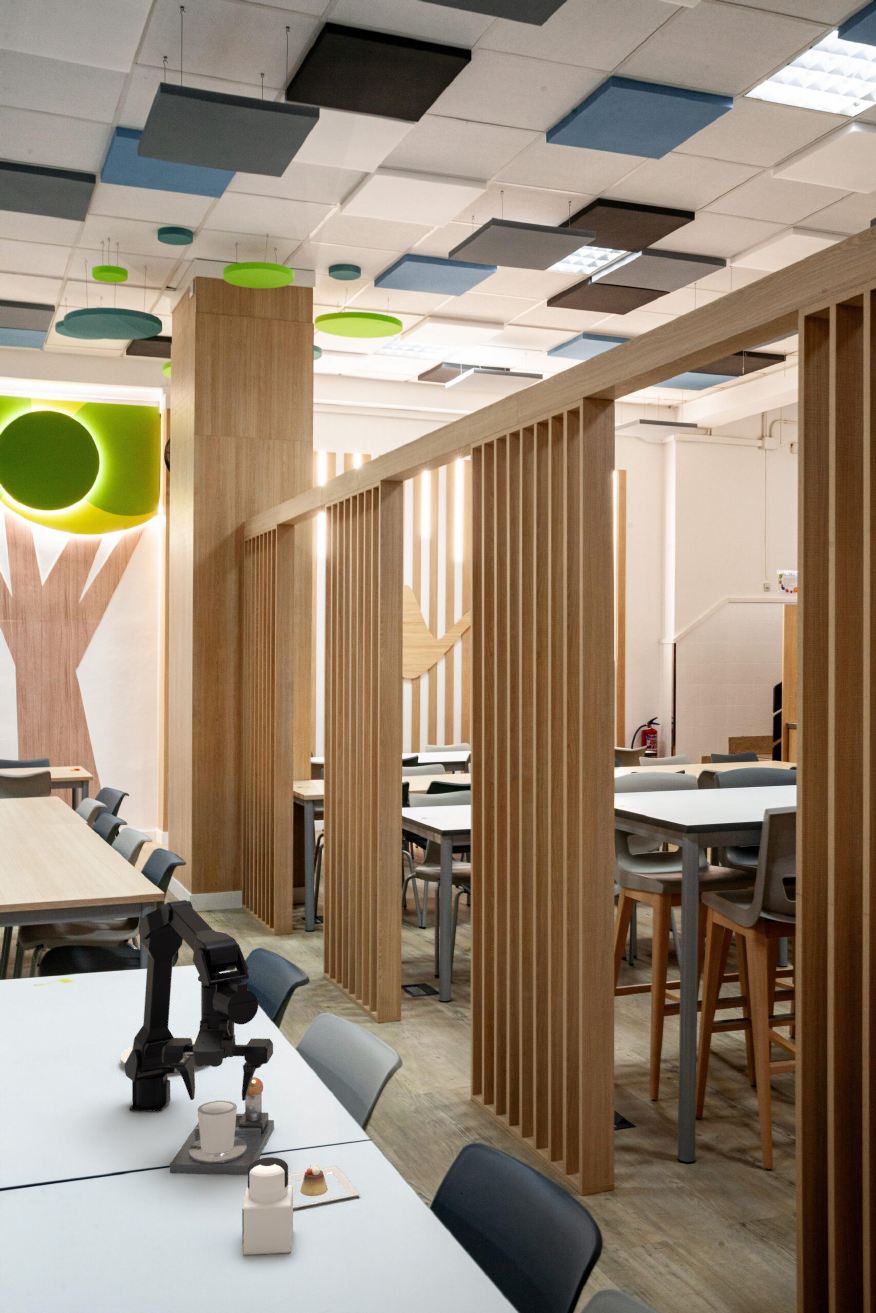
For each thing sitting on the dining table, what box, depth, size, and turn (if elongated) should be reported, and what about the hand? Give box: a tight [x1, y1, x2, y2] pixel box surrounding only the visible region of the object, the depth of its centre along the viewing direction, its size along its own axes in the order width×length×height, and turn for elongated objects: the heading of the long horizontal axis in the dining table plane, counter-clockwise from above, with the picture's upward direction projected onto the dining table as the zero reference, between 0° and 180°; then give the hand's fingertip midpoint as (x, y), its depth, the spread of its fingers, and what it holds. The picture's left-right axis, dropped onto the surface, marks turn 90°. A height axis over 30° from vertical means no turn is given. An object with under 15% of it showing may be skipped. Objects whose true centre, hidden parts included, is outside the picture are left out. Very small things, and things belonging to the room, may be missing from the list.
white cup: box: [197, 1100, 238, 1153], centre depth 200 cm, size 7×7×7 cm
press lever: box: [239, 1076, 269, 1132], centre depth 210 cm, size 4×5×9 cm
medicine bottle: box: [241, 1156, 294, 1256], centre depth 171 cm, size 7×7×12 cm
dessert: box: [288, 1164, 361, 1210], centre depth 188 cm, size 12×12×5 cm
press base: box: [169, 1113, 275, 1176], centre depth 205 cm, size 14×20×3 cm
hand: (218, 1099), depth 200 cm, fingers open, 9 cm apart
